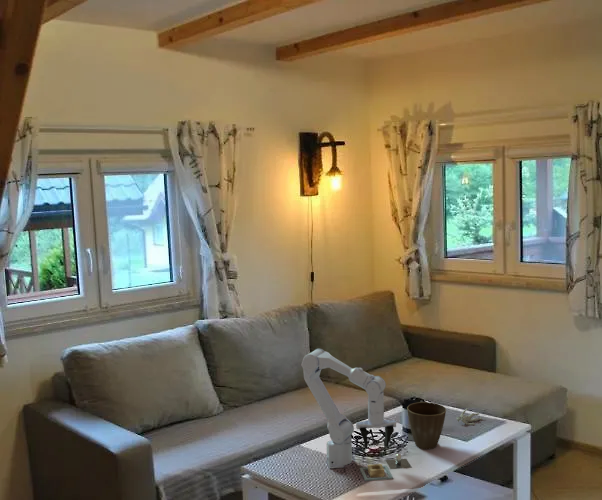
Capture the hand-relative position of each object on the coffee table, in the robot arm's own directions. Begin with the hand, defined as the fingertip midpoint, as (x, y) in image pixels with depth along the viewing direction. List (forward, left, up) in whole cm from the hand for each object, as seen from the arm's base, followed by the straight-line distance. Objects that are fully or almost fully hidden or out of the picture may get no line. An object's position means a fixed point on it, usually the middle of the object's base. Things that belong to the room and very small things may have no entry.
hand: (376, 446), depth 260 cm
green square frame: (-1, -6, -9) cm, 11 cm away
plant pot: (+24, +16, -9) cm, 30 cm away
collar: (-1, -6, -8) cm, 10 cm away
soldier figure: (+49, +40, -9) cm, 64 cm away
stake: (+9, +1, -9) cm, 12 cm away
